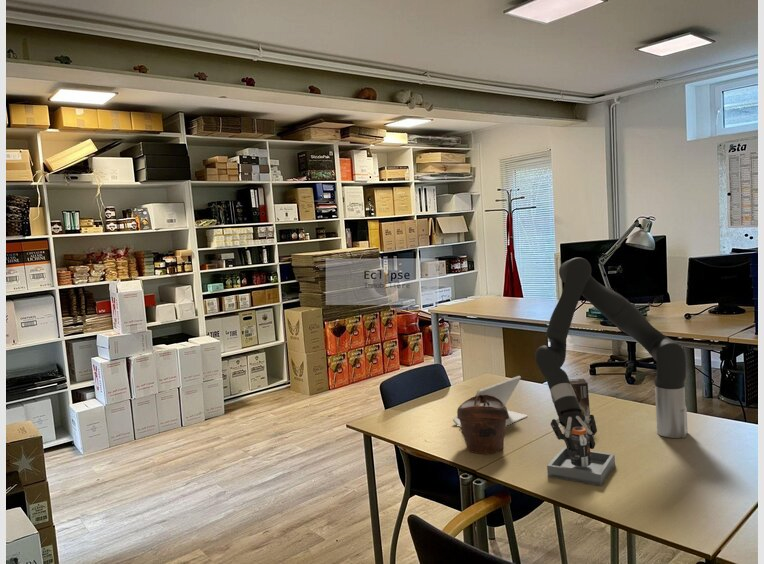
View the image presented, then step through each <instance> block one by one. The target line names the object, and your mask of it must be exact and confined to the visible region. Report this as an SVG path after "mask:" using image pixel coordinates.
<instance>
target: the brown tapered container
mask: <svg viewBox="0 0 764 564" xmlns="http://www.w3.org/2000/svg"><path fill="white" fill-rule="evenodd" d="M507 410H508V407H506V405H504V403H503V402H502V401H501V400H500V399H499V398H497V397H495V396H491V395H478V396H475V395H474V396H473V397H470V398H468V399H466V400H465V401H464V402H462V403H461V404H460V405H459V406H458V408H457V412H456V413H457V416H456V417H457V418H458V419H460V423H461V426H462V427H459V430H458V432H460V431H461V434H462V436H463V438H464V441H465V445H466V448H467V450H468V451H469V452H471V453H473V452H474V454H478V453H481V454H480V455H488V454H487V453H489V454H493V452H494V453H496V452H500V450H502V449H503V447H504V442H505V433H506V432H505V431H506V427H505V424H506V419H508V418H509V414H508V411H509V410H508V411H507Z"/></svg>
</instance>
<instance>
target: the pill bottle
mask: <svg viewBox="0 0 764 564" xmlns="http://www.w3.org/2000/svg"><path fill="white" fill-rule="evenodd" d="M571 433H572V434H569V438H570V439H571V441H572V444H573V447H574V450H573V451H572V452H570V454H571V463H572V464H573V465H575V466H578V467H586V466H589V465H590V464H591V454H590V451H591V449H590V438H589V436H588V435H587V434H586V429H585V428H584V427H574V428H572V431H571Z"/></svg>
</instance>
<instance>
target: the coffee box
mask: <svg viewBox="0 0 764 564" xmlns="http://www.w3.org/2000/svg"><path fill="white" fill-rule="evenodd" d="M569 381H570V384H571V386H572V388H573V390H574V392H575V395H576V397H577V400H578V403H579V405H580V408H581V411H582V413H583V414H584V416H590V415H591V410H590V409H591V408H590V398H589V397H590V395H589V383H588V382H587V381H586V379H585V378H574V379H573V378H572V379H571V378H569ZM584 423H585V424H586V425H589V423H587V421H586V420H584Z"/></svg>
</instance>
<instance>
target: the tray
mask: <svg viewBox="0 0 764 564" xmlns="http://www.w3.org/2000/svg"><path fill="white" fill-rule="evenodd" d="M590 454H591V464H590V465H589V466H586V467H578V466H575V465H573V464H572V463H571V454H570V450H568V449H567V446H563V447H562V448H561V449H560V450H559V452H557V454H556V455H555V456H554V457H553V458H552V460H550V462H549V463H548V464H547V465H546V469H547V472H546V473H547V477H550V478H554V479H555V478H556V479H561V480H566V481H570V480H571V482H577V483H583V484H588V485H592V484H593V486H599V487H602V486H603V485H604V483H605V481H606V479H608V476H609V475H610V474H611V472H612V470H613V469H614V468H615V465H616V458H615V457H616V456H615V454H614V453H610V452H603V451H595V450H590Z"/></svg>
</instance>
